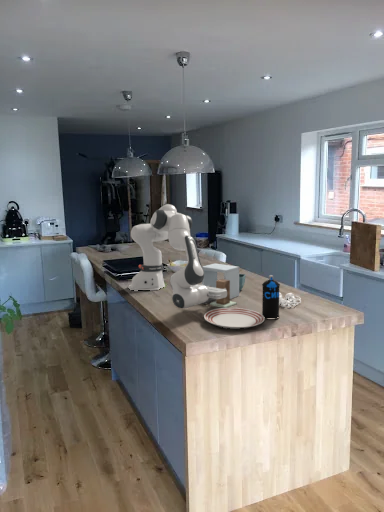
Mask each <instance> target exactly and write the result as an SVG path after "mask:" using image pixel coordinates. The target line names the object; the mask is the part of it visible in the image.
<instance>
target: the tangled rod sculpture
mask: <svg viewBox="0 0 384 512" xmlns="http://www.w3.org/2000/svg"><path fill="white" fill-rule="evenodd" d="M287 299H288V300H287ZM301 299H302V298H301V297H300V296H298V295H295V294H294V293H292V292H288V293H286V294H285V296H284V298H283V294H282V293H281V292H280V291H279V307H280V306H281V307H282V308H284V307H285V308H287V307H293V306H296V305H297V306H298V305H299V304H300V303H302V300H301ZM298 301H299V302H298ZM280 304H281V305H280ZM292 305H293V306H292ZM297 306H296V307H297Z"/></svg>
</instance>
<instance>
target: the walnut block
mask: <svg viewBox="0 0 384 512" xmlns="http://www.w3.org/2000/svg"><path fill="white" fill-rule="evenodd" d="M216 288H220V289H222V288H226V290H227V297H225V298H221V299H216V303H218V304H222V305H225V304H228V303H230V301H231V299H230V280H225V279H224V278H220V279H217V281H216Z"/></svg>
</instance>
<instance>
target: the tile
mask: <svg viewBox="0 0 384 512" xmlns="http://www.w3.org/2000/svg"><path fill="white" fill-rule="evenodd" d="M237 304H238V303H237V301H231V300H230V303H228V304H225V305H222V304H218V303H216V301H214V302H211V303H209V306H213V307H218V308H230V307H232V305H233V306H235V305H237ZM229 306H230V307H229Z"/></svg>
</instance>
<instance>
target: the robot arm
mask: <svg viewBox="0 0 384 512" xmlns="http://www.w3.org/2000/svg"><path fill="white" fill-rule="evenodd" d="M192 228H193V219H192V217H191V216H190V215H187V214H185V213H181V212H178V210H177V208H176V207H175V205H173V204H169V203H166V204H164V205H162V206H161V207H160V208H159V209H156V210H155V211H154V213H153V214H152V217H151V219H150V223H139V224H137V225H134V226H133V227H132V228H131V231H130V237H131V239H132V240H133V242H135V243H136V244H137V245H138V246H139V247H140V249H141V251H142V258H143V264H139V265H138V268H139V269H140V271H139V272H137V274H135V275H133V277H132V279H131V284H129V285H128V286H127V289H128V288H129V289H130V290H129V289H128V290H129V291H131V290H134V291H133V292H139V291H138V290H150V291H160V290H161V289H164V288H165V287H166V283H165V282H164V281H165V280H164V275H163V272H164V266H163V262H162V257H163V256H162V251H161V249H159V248H158V247H156V246H155V245H154V242H163V241H166V240H168V243H169V245H170V247H171V248H173V249H175V250H176V251H181V252H183V251H185V255H186V260H187V261H186V262H187V263H186V265H185V266H184V267H182V268H180V269H179V270H177V271H175V272H174V273H172V274H171V276H170V277H169V284H170V287H171V289H172V297H171V298H172V299H171V301H172V302H173V304H174V306H175V307H177V308H179V309H187V308H192V307H195V305H201V304H202V303H203V302H206V301H207V300H208V298H212V299H221V298H225V297H227V290H226V288H222V289H220V288H214V287H211V286H204V285H202V281H203V279H204V270H203V268H202V263H201V259H200V255H199V251H198V245H197V243H196V239H194V237H193V236H191V230H192ZM163 287H164V288H163ZM160 288H161V289H160ZM159 289H160V290H159Z"/></svg>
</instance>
